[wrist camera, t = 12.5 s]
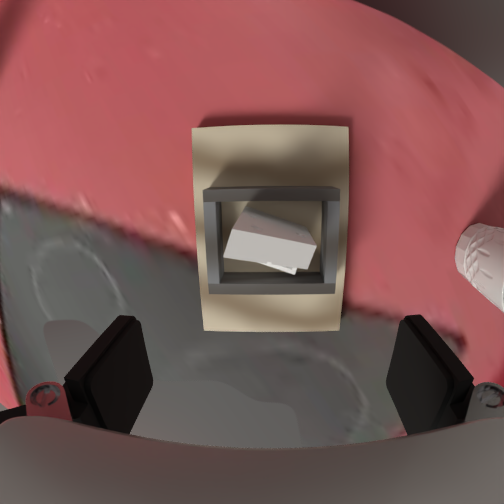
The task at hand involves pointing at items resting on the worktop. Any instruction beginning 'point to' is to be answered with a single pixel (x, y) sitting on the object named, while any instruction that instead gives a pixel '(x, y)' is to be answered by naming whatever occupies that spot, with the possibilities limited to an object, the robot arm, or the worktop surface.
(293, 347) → the worktop surface
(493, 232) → the white cup
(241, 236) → the white wedge bracket
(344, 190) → the board
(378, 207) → the worktop surface
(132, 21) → the worktop surface
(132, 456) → the robot arm
